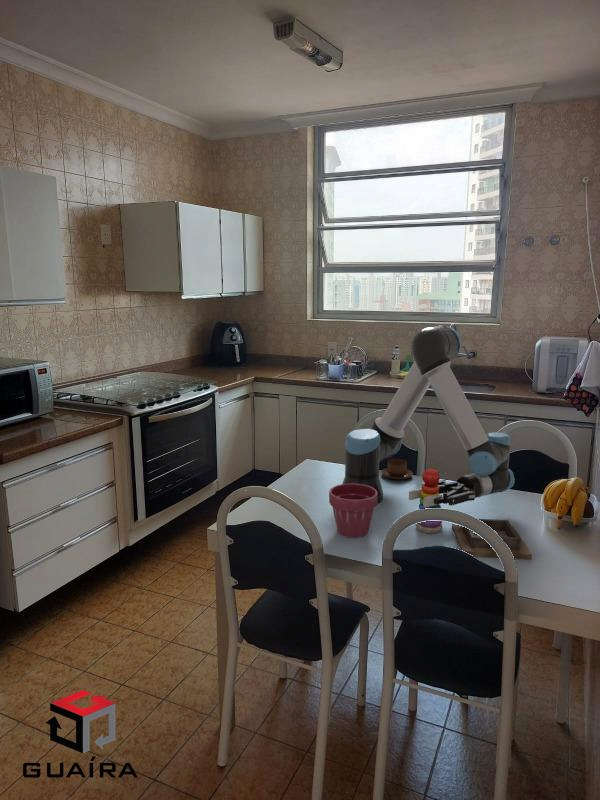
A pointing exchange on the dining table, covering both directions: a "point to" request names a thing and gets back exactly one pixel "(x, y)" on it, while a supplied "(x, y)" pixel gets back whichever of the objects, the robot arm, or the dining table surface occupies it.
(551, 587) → the dining table surface
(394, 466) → the cup and saucer
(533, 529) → the dining table surface
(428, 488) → the stacking toy
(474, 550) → the wooden divided tray
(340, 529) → the plant pot
